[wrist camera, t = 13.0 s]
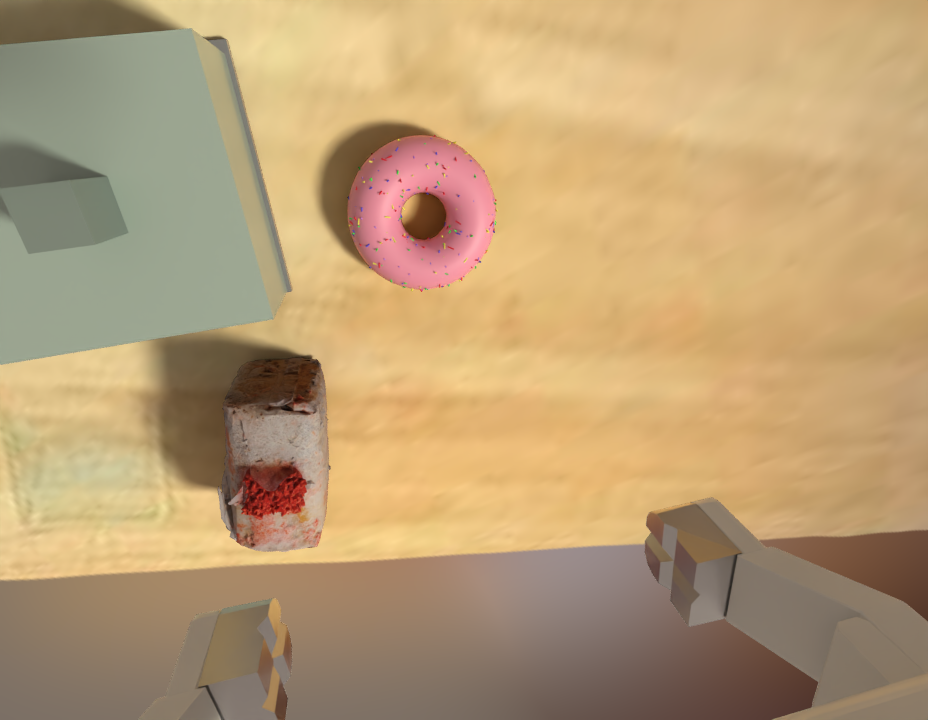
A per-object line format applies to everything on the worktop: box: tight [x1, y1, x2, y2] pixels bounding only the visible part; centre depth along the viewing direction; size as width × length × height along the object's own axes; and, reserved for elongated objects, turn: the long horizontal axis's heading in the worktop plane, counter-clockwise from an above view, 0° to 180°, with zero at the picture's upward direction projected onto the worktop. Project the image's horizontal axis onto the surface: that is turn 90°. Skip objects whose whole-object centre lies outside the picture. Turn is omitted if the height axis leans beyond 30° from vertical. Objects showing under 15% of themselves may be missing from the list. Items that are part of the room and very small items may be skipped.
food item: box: [218, 357, 330, 552], centre depth 38 cm, size 14×8×10 cm, turn 176°
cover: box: [0, 28, 287, 365], centre depth 29 cm, size 16×16×11 cm
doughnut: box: [348, 135, 498, 292], centre depth 37 cm, size 11×11×4 cm
